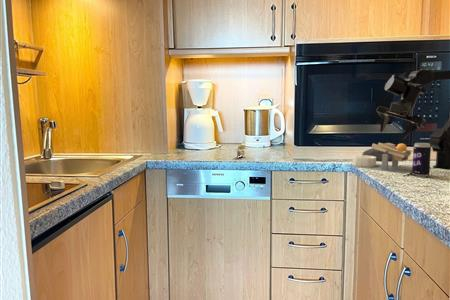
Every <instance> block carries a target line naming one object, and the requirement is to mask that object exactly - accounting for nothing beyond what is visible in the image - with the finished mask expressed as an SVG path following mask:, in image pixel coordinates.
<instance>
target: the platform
mask: <svg viewBox="0 0 450 300" xmlns="http://www.w3.org/2000/svg"><path fill="white" fill-rule="evenodd" d="M247 149H248V148H247V147H245V144H240V145H238V147H237V148H236V149H234V151H235V152H236V154H237V155H236V156H237V157H238V156H240V155H242V156H245V151H246V150H247ZM237 157H236V158H237Z"/></svg>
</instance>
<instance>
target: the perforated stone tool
mask: <svg viewBox="0 0 450 300" xmlns="http://www.w3.org/2000/svg"><path fill="white" fill-rule="evenodd" d="M382 154H387V155H389V156H388V162H392V154H389V153H385V152H383V151H380V150H376V149H373V148H369V149H366V150H365V151H363V152H362V153H361V155H367V156H374V157H376V162H378V161H381V162H382Z"/></svg>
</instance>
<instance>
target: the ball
mask: <svg viewBox="0 0 450 300" xmlns="http://www.w3.org/2000/svg"><path fill="white" fill-rule="evenodd" d="M396 149H397V151H400V152H402V151H404V150H408V149H407V145H406V144H405V143H398V144H396Z"/></svg>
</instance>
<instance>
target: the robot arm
mask: <svg viewBox="0 0 450 300" xmlns="http://www.w3.org/2000/svg"><path fill="white" fill-rule="evenodd" d="M446 80H447V81H448V80H450V70H449V69H448V70H440V71H439V70H438V71H436V70H429V69H419V70H414V71H411V72H410V74H409V75H408V76H407V77H406V78H402V77H400V76H398V75H397V74H392V75H391V77H390V78H389V79H388V80H387V82H385V85H384V90H385V91H386V92H389V93H391V94H393V95H395V96H400V97H401V98H399V99H398V100H397V101H396V102H391V103H390V107H389V108H388V107H386V106H384V105H379V106H378V107H377V108H376V110H375V112H376V113H377V114H378V115H379V116H380V130H379V131H380V133H383V131H384V130H385V129H386V126H387V124H388V122H389V120H390V117H394V118H397V119H398V118H399V119H402V120H404V121H408V126H407V127H406V129H405V131H404V133H403V134H402V137H401V140H403V141H404V140H405V139H406V138H407V137H408V136H409V135H410V134H412V133H413V132H414V131H416V130H417V129H421V128H425V127H426V125H427V120H426V119H425V118H424V117H422V116H419V115H415V114H414V115H413V116H411V113H412V111H413V109H415V107H416V105H415V104H416V103H417V100H418V98H419V96H420V95H424V94H426V93H427V92H426V88H425V86H423V85H426V84H430V83H433V82H436V81H446ZM420 85H422V86H421V87H419V86H420ZM429 137H430V138H429V141H428V142H429V144H430V146H431V150H432V151H433V152H435V153H436V156H435V157H436V159H435V164H434V165H432V168H437V169H438V168H439V169H447V170H450V117H449V118H448V120H447V121H446V122H445V124H444V126H442V128H435V129H434V130H433V132H432V134H430V135H429Z"/></svg>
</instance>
